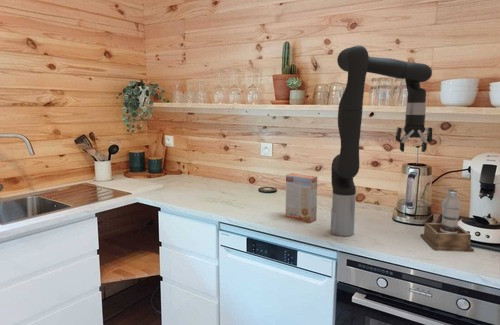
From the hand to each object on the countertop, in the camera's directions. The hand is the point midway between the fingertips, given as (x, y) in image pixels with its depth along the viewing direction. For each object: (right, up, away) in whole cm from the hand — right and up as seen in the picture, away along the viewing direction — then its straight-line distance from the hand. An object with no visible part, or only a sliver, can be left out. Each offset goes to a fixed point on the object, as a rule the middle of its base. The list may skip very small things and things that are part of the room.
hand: (412, 151), depth 153 cm
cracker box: (-46, -31, +16) cm, 58 cm away
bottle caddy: (+6, -36, -15) cm, 39 cm away
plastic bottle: (+7, -35, -15) cm, 39 cm away
